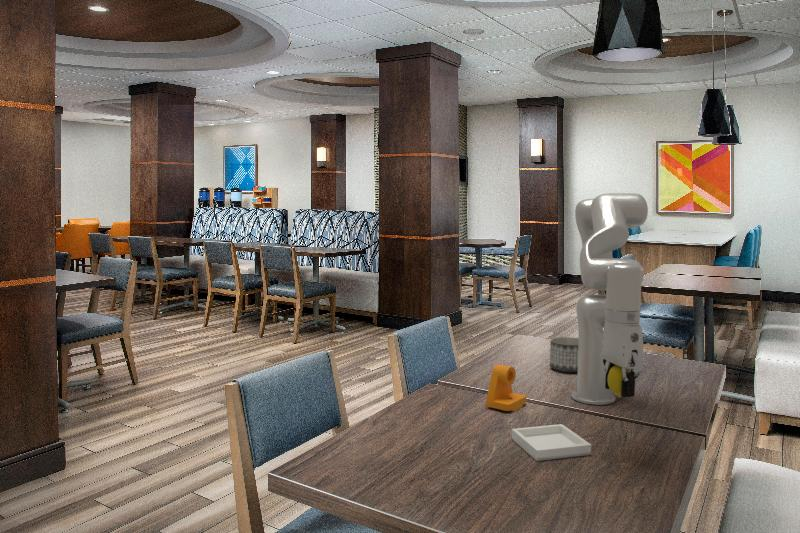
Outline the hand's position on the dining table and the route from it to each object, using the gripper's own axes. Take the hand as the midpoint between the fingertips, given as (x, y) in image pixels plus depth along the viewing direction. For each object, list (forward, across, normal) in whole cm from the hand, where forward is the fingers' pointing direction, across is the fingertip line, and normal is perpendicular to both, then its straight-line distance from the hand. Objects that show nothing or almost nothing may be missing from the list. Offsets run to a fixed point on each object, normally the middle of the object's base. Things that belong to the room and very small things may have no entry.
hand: (619, 391), depth 148 cm
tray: (+15, +8, +13) cm, 22 cm away
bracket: (+16, +38, +11) cm, 43 cm away
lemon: (+1, 0, 0) cm, 1 cm away
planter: (+16, +69, -27) cm, 76 cm away
